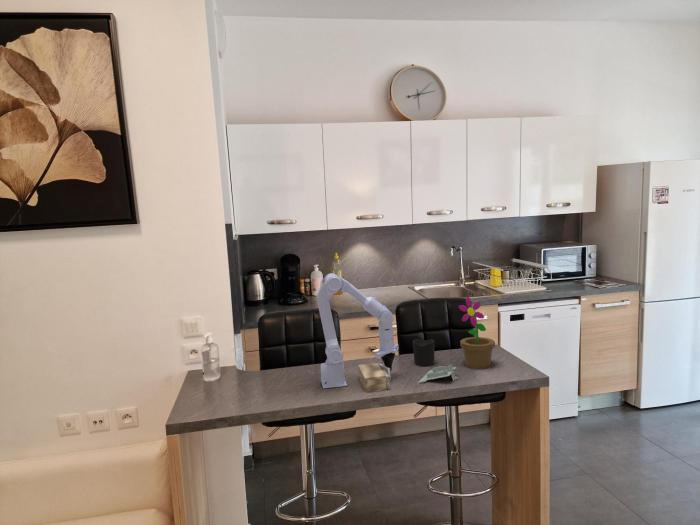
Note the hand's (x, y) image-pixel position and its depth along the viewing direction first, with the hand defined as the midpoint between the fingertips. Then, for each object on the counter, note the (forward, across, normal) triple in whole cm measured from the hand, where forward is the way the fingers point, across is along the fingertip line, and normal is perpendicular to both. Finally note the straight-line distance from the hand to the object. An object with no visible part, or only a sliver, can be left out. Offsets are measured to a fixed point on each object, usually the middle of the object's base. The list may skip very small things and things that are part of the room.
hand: (388, 370), depth 195 cm
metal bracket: (+4, +9, -18) cm, 20 cm away
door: (+3, -1, +1) cm, 3 cm away
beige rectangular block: (+3, -8, +3) cm, 9 cm away
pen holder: (+4, +24, -4) cm, 24 cm away
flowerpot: (+4, +32, -25) cm, 41 cm away
